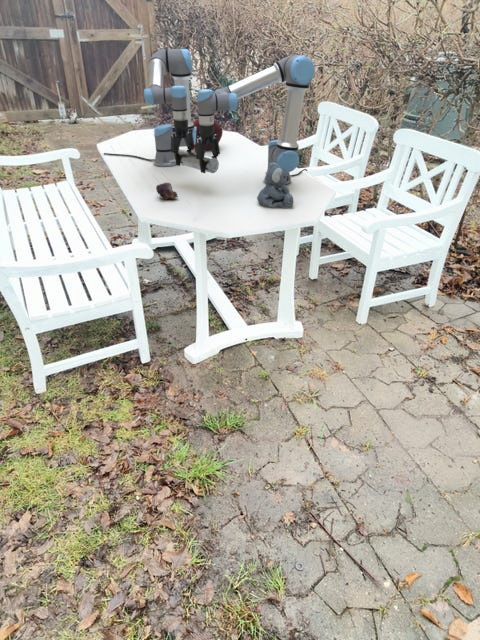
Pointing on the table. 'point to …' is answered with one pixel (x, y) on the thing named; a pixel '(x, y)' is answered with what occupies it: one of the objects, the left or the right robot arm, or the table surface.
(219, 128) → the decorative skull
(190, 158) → the rod
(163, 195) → the rock
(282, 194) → the koala plush
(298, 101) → the right robot arm
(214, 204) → the table surface
